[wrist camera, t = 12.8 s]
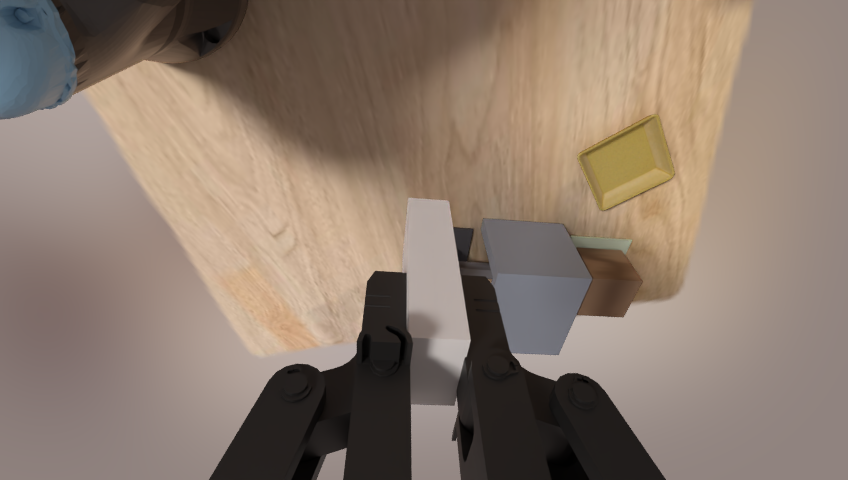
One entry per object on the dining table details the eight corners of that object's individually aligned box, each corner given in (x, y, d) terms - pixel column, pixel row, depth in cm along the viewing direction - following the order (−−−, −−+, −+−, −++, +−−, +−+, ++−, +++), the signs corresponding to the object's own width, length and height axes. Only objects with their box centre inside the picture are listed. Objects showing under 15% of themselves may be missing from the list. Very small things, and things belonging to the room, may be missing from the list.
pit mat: (402, 279, 56) (402, 281, 56) (408, 224, 51) (408, 225, 51) (461, 283, 57) (461, 284, 57) (472, 228, 52) (473, 229, 52)
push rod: (433, 275, 56) (436, 307, 51) (439, 238, 52) (443, 269, 47) (605, 284, 58) (623, 317, 53) (621, 250, 54) (642, 281, 49)
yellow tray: (667, 168, 48) (676, 177, 47) (594, 203, 51) (601, 213, 49) (648, 105, 44) (658, 112, 42) (569, 147, 46) (576, 155, 45)
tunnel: (466, 292, 58) (476, 351, 50) (483, 218, 51) (497, 273, 43) (537, 296, 59) (558, 355, 51) (562, 223, 52) (592, 278, 44)
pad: (550, 288, 58) (551, 289, 58) (570, 235, 53) (571, 236, 53) (606, 291, 59) (606, 292, 59) (631, 239, 54) (632, 240, 54)
